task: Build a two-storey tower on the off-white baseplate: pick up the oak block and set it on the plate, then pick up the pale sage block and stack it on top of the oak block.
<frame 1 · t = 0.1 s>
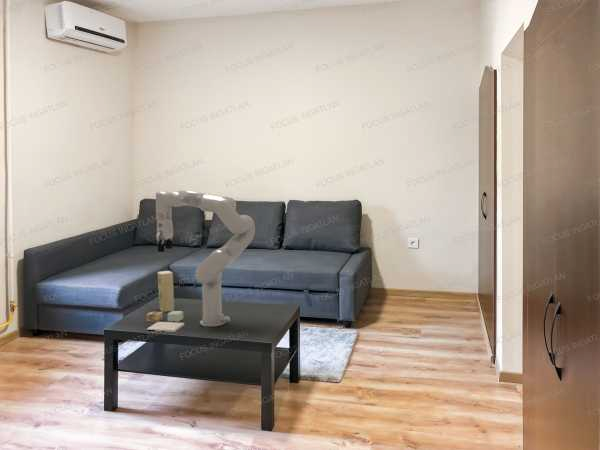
hand: (165, 250, 282), 37 cm above the table, tool pointing down, fingers open, 9 cm apart
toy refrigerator: (166, 310, 308), on the table
oak block: (154, 320, 288), on the table
sage block: (175, 320, 289), on the table
baseplate: (165, 327, 275), on the table
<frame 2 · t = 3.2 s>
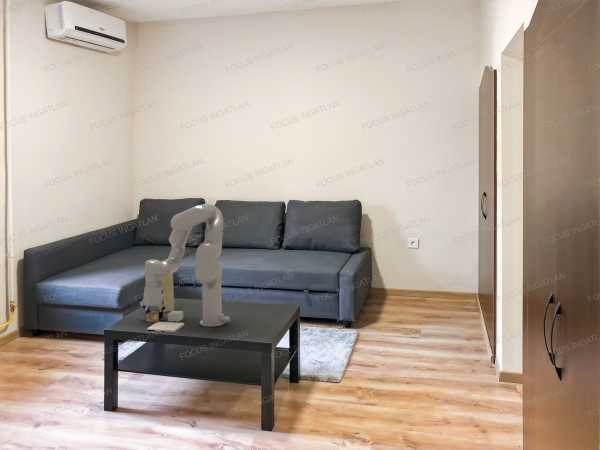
hand: (154, 318, 288), 1 cm above the table, tool pointing down, fingers closed on oak block, 6 cm apart
oak block: (154, 320, 288), on the table, touching gripper
everything else where it was.
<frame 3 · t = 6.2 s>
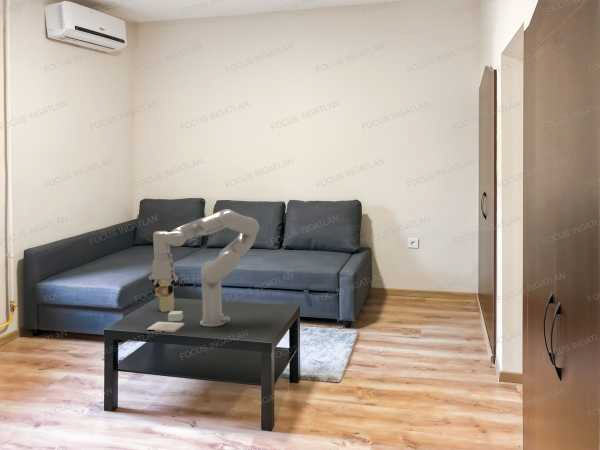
hand: (164, 292, 274), 17 cm above the table, tool pointing down, fingers closed on oak block, 6 cm apart
oak block: (164, 295, 274), point 16 cm above the table, touching gripper
everything else where it was.
when the fingers open (4 cm above the table, at t = 9.5 s): oak block drops 1 cm, resting on baseplate.
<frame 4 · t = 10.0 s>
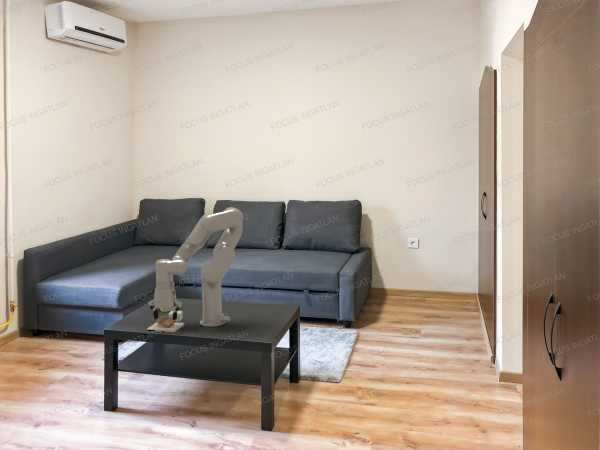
hand: (165, 319, 274), 4 cm above the table, tool pointing down, fingers open, 9 cm apart
oak block: (165, 325, 275), point 1 cm above the table, touching baseplate
everything else where it was.
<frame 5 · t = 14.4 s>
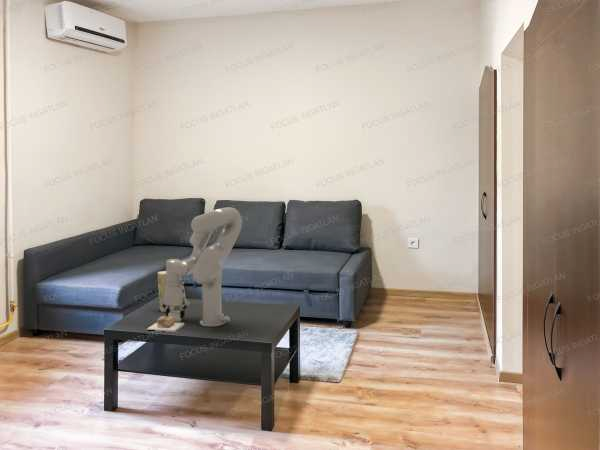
hand: (175, 317, 289), 1 cm above the table, tool pointing down, fingers closed on sage block, 6 cm apart
sage block: (175, 319, 289), on the table, touching gripper
everything else where it was.
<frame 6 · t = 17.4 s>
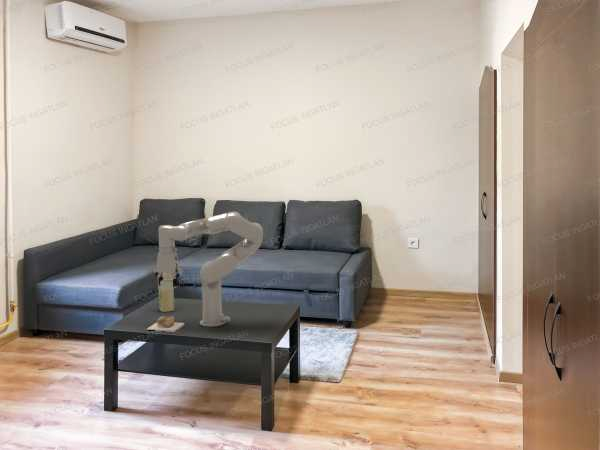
hand: (168, 285, 278), 20 cm above the table, tool pointing down, fingers closed on sage block, 6 cm apart
sage block: (168, 288, 278), point 18 cm above the table, touching gripper
everything else where it was.
when the fingers open (8 cm above the table, at t = 20.6 s): sage block drops 1 cm, resting on oak block.
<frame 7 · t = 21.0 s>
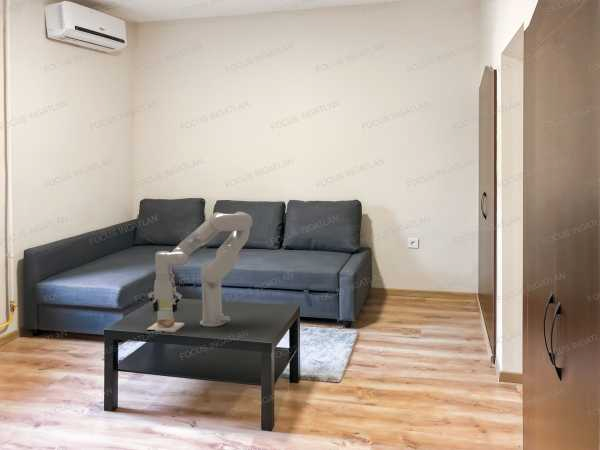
hand: (165, 311, 274), 8 cm above the table, tool pointing down, fingers open, 9 cm apart
oak block: (166, 325, 275), point 1 cm above the table, touching baseplate, sage block
sage block: (165, 317, 274), point 5 cm above the table, touching oak block
everything else where it was.
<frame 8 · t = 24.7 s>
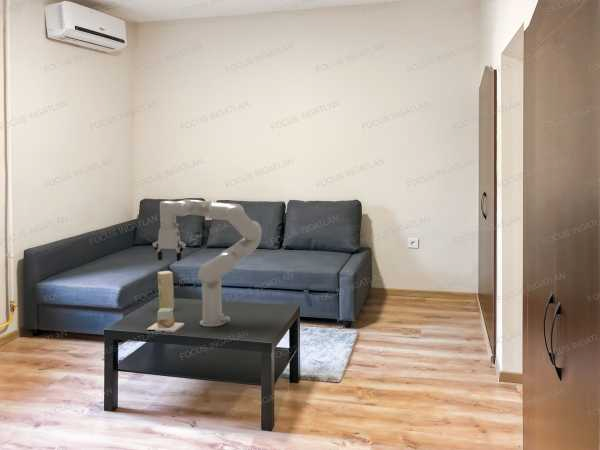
hand: (169, 260, 278), 32 cm above the table, tool pointing down, fingers open, 9 cm apart
nothing on the table moved.
at the end: oak block 0.1 cm off-centre on the baseplate, point 1.0 cm above the baseplate's base; sage block 0.2 cm off-centre on the oak block, point 4.0 cm above the oak block's base; the gripper is holding nothing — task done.
